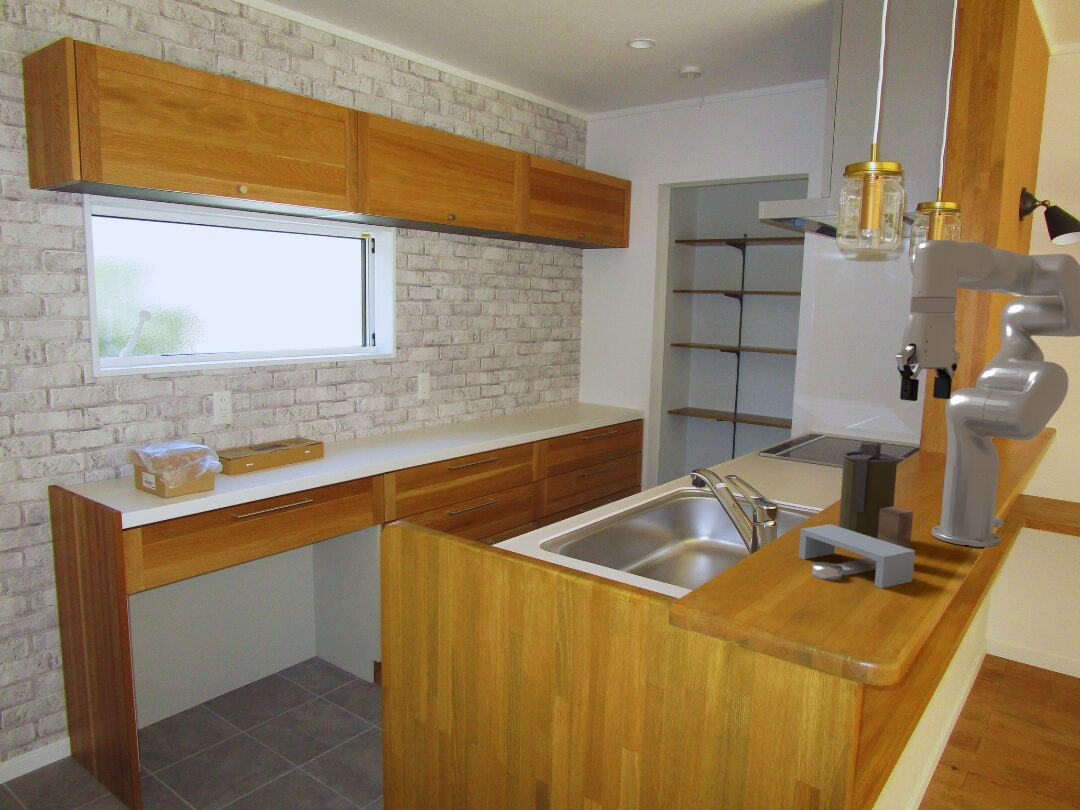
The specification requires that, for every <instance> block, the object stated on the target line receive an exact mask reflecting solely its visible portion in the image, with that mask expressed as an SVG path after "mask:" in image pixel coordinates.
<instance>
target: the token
mask: <svg viewBox="0 0 1080 810" xmlns="http://www.w3.org/2000/svg"><path fill="white" fill-rule="evenodd" d="M837 564H838V563H833V562H827V561H826V562H825V561H822V562H821V561H819V562H818V561H817V562H813V563H812V568H811V575H812V576H813V577H814V578H817V579H820V580H823V581H832V582H835V581H840V580H843V575H842V574H843V567H841V566H839V565H837Z"/></svg>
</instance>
